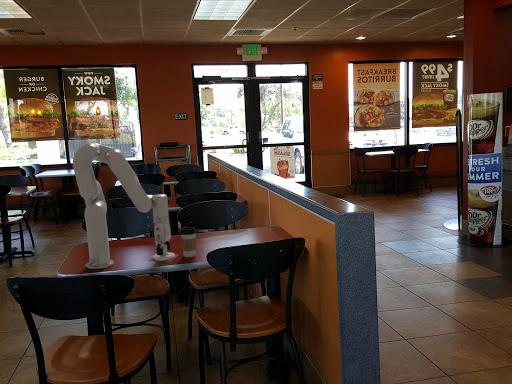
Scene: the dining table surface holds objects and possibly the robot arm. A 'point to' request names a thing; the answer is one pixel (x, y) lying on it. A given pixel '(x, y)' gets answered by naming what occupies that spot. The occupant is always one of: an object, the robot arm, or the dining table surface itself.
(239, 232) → the dining table surface
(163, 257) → the lid
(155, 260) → the mat
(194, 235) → the coffee cup
